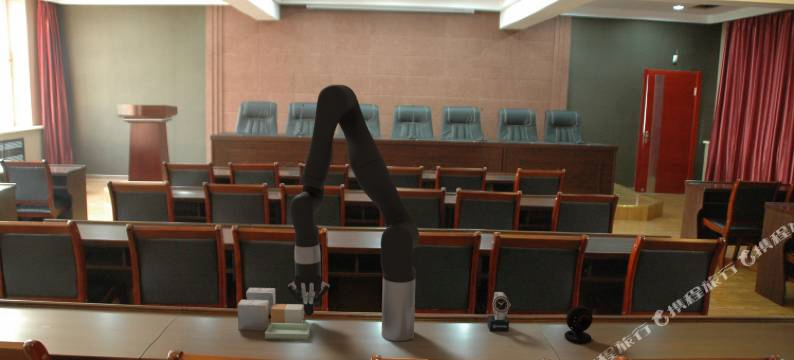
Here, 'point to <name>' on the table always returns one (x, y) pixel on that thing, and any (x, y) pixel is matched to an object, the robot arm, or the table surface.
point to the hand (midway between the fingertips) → (309, 314)
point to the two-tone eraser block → (287, 313)
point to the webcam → (579, 325)
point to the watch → (499, 313)
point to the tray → (288, 331)
